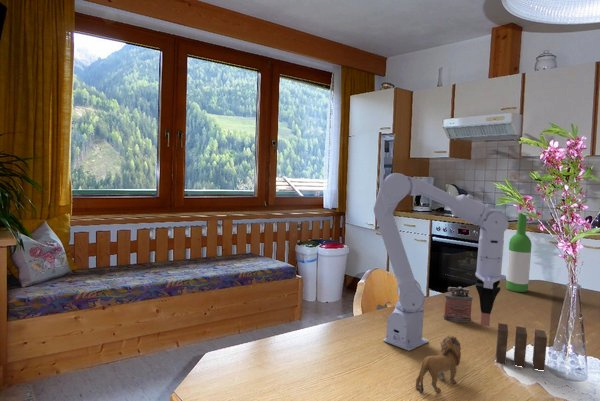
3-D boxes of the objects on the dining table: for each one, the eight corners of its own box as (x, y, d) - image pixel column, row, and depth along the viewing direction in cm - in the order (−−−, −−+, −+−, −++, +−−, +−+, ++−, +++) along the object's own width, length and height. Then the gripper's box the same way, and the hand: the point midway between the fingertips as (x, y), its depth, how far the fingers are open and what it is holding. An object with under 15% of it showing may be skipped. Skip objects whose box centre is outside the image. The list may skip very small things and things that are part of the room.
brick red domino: (480, 324, 109) (483, 293, 109) (480, 318, 114) (483, 288, 113) (489, 326, 108) (491, 294, 108) (489, 319, 113) (491, 289, 112)
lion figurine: (441, 369, 99) (443, 330, 98) (464, 377, 96) (467, 337, 95) (409, 392, 88) (411, 348, 88) (434, 402, 85) (437, 357, 84)
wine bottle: (513, 286, 175) (519, 212, 173) (532, 291, 169) (538, 214, 166) (501, 288, 172) (507, 212, 169) (519, 293, 165) (526, 214, 163)
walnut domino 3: (534, 370, 101) (537, 336, 100) (532, 361, 105) (535, 329, 105) (544, 372, 100) (547, 337, 99) (541, 363, 104) (544, 330, 104)
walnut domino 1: (496, 362, 104) (498, 329, 103) (495, 354, 108) (498, 323, 108) (505, 364, 103) (508, 331, 102) (504, 356, 108) (507, 324, 107)
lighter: (469, 318, 134) (471, 286, 134) (472, 322, 131) (474, 289, 130) (442, 316, 135) (444, 285, 134) (444, 320, 132) (447, 287, 131)
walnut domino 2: (514, 366, 102) (517, 332, 102) (513, 358, 107) (516, 326, 106) (524, 368, 101) (527, 334, 101) (523, 359, 106) (525, 327, 105)
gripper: (508, 264, 102) (504, 321, 103) (506, 253, 115) (502, 304, 116) (476, 260, 104) (472, 316, 105) (477, 250, 118) (473, 300, 119)
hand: (485, 309), depth 111 cm, fingers closed on brick red domino, 5 cm apart
